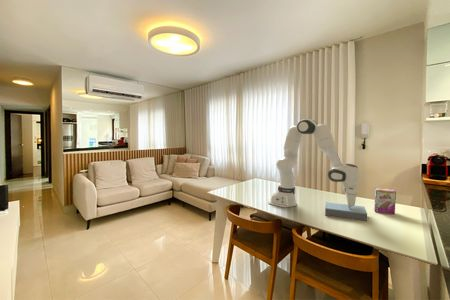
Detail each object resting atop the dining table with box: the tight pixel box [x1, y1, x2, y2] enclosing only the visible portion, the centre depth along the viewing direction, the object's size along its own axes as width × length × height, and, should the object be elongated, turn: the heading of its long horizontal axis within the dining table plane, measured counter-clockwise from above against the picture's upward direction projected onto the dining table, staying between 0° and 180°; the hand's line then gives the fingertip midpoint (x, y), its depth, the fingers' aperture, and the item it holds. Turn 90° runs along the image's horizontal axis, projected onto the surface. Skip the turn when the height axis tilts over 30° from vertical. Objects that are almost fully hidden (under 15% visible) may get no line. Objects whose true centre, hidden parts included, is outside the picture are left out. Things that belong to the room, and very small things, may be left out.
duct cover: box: [324, 201, 368, 216], centre depth 140 cm, size 24×13×1 cm, turn 62°
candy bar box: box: [373, 187, 397, 215], centre depth 141 cm, size 11×5×16 cm, turn 59°
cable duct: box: [324, 208, 368, 223], centre depth 139 cm, size 24×12×4 cm, turn 62°
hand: (349, 207), depth 137 cm, fingers closed
